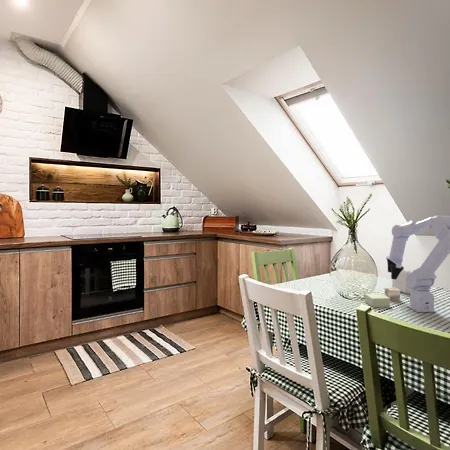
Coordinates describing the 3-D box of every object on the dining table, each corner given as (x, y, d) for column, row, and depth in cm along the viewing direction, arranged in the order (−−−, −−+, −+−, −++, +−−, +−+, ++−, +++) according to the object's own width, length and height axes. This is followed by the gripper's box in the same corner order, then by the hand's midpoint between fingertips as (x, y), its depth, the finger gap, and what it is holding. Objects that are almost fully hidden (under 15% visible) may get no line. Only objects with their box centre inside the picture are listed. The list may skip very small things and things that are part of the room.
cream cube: (400, 300, 166) (400, 290, 166) (389, 300, 166) (389, 290, 166) (394, 297, 171) (394, 287, 171) (384, 297, 171) (384, 287, 171)
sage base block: (389, 307, 156) (390, 298, 156) (372, 307, 156) (372, 298, 156) (381, 302, 164) (382, 293, 164) (364, 302, 164) (365, 293, 164)
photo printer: (412, 293, 178) (413, 269, 178) (406, 293, 177) (406, 269, 176) (397, 288, 188) (397, 265, 188) (390, 289, 187) (391, 266, 186)
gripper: (385, 243, 173) (380, 268, 177) (391, 254, 159) (386, 280, 163) (400, 244, 171) (395, 270, 175) (408, 256, 158) (402, 283, 162)
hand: (392, 275), depth 169 cm, fingers open, 7 cm apart
